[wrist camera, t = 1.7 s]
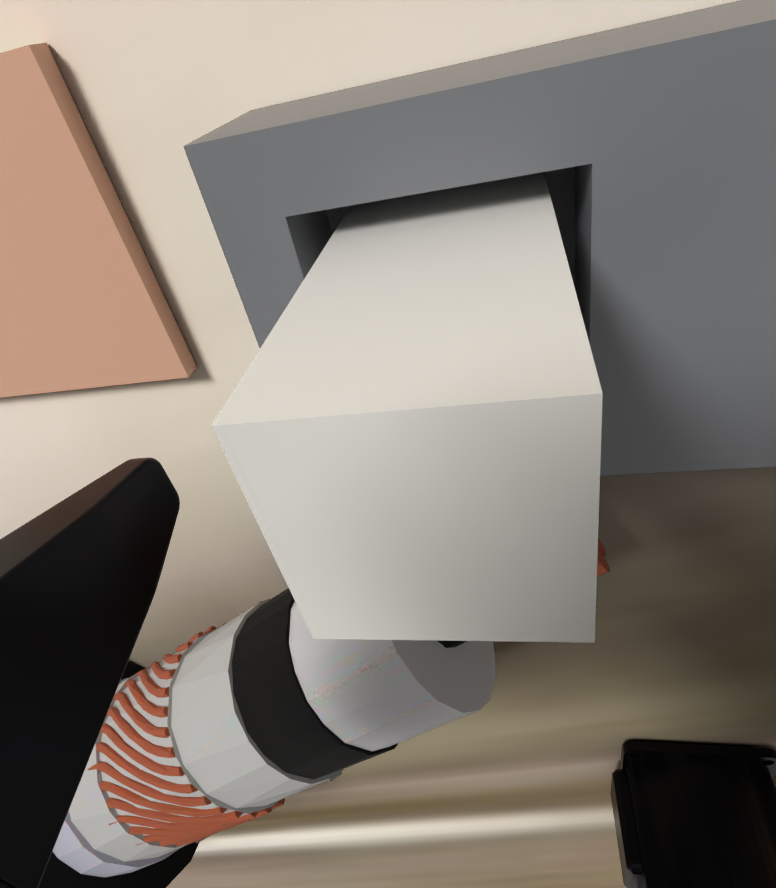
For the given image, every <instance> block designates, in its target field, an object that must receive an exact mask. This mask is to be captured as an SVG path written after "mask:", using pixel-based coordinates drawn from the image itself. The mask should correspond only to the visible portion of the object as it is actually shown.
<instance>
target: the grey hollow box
mask: <svg viewBox="0 0 776 888" xmlns="http://www.w3.org/2000/svg"><path fill="white" fill-rule="evenodd" d="M184 149H185V152H186V154H187V157H188V160H189V162H190V165H191V168H192V170H193V173H194V176H195V178H196V181H197V183H198V186H199V189H200V191H201V194H202V197H203V199H204V202H205V205H206V207H207V210H208V213H209V215H210V218H211V220H212V223H213V226H214V228H215V231H216V234H217V236H218V239H219V242H220V244H221V247H222V250H223V252H224V255H225V257H226V260H227V263H228V265H229V268H230V271H231V273H232V276H233V279H234V281H235V284H236V287H237V289H238V292H239V295H240V297H241V300H242V302H243V305H244V308H245V310H246V313H247V316H248V318H249V321H250V324H251V326H252V329H253V332H254V334H255V337H256V339H257V342H258V345H259V347H260V348H261V346H262V345H263V343H264V342H265V340H266V339H267V337H268V335H269V334H270V332H271V331H272V329H273V327H274V326H275V324H276V323H277V321H278V320H279V318H280V316H281V315H282V313H283V312H284V310H285V309H286V307H287V305H288V304H289V302H290V301H291V299H292V298H293V296H294V294H295V293H296V291H297V290H298V288H299V287H300V285H301V283H302V282H303V280H304V279H305V277H306V276H307V274H308V272H309V271H310V269H311V268H312V266H313V265H314V263H315V261H316V260H317V258H318V257H319V255H320V253H321V252H322V250H323V249H324V247H325V246H326V244H327V242H328V241H329V239H330V238H331V236H332V235H333V233H334V231H335V230H336V228H337V227H338V225H339V224H340V222H341V220H342V219H343V217H344V216H345V214H346V213H347V211H348V209H349V208H350V206H351V205H357V204H362V203H368V202H374V201H380V200H385V199H391V198H397V197H403V196H408V195H414V194H420V193H426V192H431V191H437V190H443V189H449V188H454V187H460V186H466V185H472V184H477V183H483V182H489V181H495V180H500V179H506V178H512V177H518V176H524V175H529V174H535V173H541V172H544V174H545V178H546V182H547V186H548V189H549V193H550V197H551V201H552V204H553V208H554V212H555V216H556V220H557V223H558V227H559V231H560V235H561V238H562V242H563V246H564V250H565V253H566V257H567V261H568V265H569V268H570V272H571V276H572V280H573V284H574V287H575V291H576V295H577V299H578V302H579V306H580V310H581V314H582V317H583V321H584V325H585V329H586V333H587V336H588V340H589V344H590V348H591V351H592V355H593V359H594V363H595V366H596V370H597V374H598V378H599V382H600V385H601V389H602V393H603V397H602V429H601V460H600V476H606V475H625V474H645V473H664V472H683V471H703V470H722V469H741V468H761V467H776V0H741V1H736V2H732V3H727V4H723V5H718V6H714V7H710V8H705V9H701V10H696V11H692V12H687V13H683V14H678V15H674V16H669V17H665V18H660V19H656V20H652V21H647V22H643V23H638V24H634V25H629V26H625V27H620V28H616V29H611V30H607V31H603V32H598V33H594V34H589V35H585V36H580V37H576V38H571V39H567V40H562V41H558V42H553V43H549V44H545V45H540V46H536V47H531V48H527V49H522V50H518V51H513V52H509V53H504V54H500V55H496V56H491V57H487V58H482V59H478V60H473V61H469V62H464V63H460V64H455V65H451V66H447V67H442V68H438V69H433V70H429V71H424V72H420V73H415V74H411V75H406V76H402V77H397V78H393V79H389V80H384V81H380V82H375V83H371V84H366V85H362V86H357V87H353V88H348V89H344V90H340V91H335V92H331V93H326V94H322V95H317V96H313V97H308V98H304V99H299V100H295V101H290V102H286V103H282V104H277V105H273V106H268V107H264V108H259V109H255V110H251V111H249V112H247V113H245V114H243V115H241V116H239V117H238V118H236V119H234V120H232V121H230V122H228V123H226V124H224V125H223V126H221V127H219V128H217V129H215V130H213V131H211V132H209V133H207V134H206V135H204V136H202V137H200V138H198V139H196V140H194V141H192V142H191V143H189V144H187V145H185V146H184Z"/></svg>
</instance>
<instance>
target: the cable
mask: <svg viewBox="0 0 776 888" xmlns="http://www.w3.org/2000/svg"><path fill="white" fill-rule="evenodd" d="M605 553H606V550H605V548H604V546H603V544H602V543H601V541H600V540H599V539H598V555H597V576H600V575H602V574H604V573H606V572H609V567H608V563H607V561H606V560H605V558H604V556H605ZM495 679H496V668H495V655H494V645H493V641H440V640H365V639H313V637H312V635H311V633H310V631H309V629H308V627H307V625H306V623H305V621H304V619H303V617H302V614H301V612H300V610H299V608H298V606H297V604H296V602H295V600H294V598H293V596H292V594H291V592H290V589H289V588H288V589H286V590H285V591H283V592H282V593H280V594H279V595H277V596H275V597H274V598H272V599H268V600H265V601H261V602H259V603H258V604H256V605H255V606H253V607H251V608H250V609H248V610H247V611H245V612H243V613H242V614H240V615H239V616H237V617H236V618H234V619H232V620H231V621H229V622H228V623H224V624H223V625H222V626H221V627H219V628H217V629H216V627H214V626H211V627H210V628H209V629H208V630H207V631H206V632H205V633H203V632H200V633H198V634H197V635H195V636H194V637H192V638H191V639H190V641H189V642H188V643H185V644H183V645H180V646H178V647H177V649H176V652H175V653H174V654H172V655H171V654H166V655H165V656H164V660H163V661H161V662H160V663H159V662H153V664H152V665H151V666H150V667H148V668H144V667H142V666H132V665H126V668H125V670H124V673H123V675H122V678H121V680H120V683H119V685H118V688H117V690H116V693H115V695H114V698H113V700H112V703H111V705H110V708H109V710H108V713H107V715H106V718H105V720H104V723H103V725H102V728H101V730H100V733H99V735H98V738H97V741H96V743H95V746H94V748H93V751H92V753H91V756H90V758H89V761H88V763H87V766H86V768H85V771H84V773H83V776H82V778H81V781H80V783H79V786H78V788H77V791H76V793H75V796H74V798H73V801H72V803H71V806H70V808H69V811H68V813H67V816H66V818H65V821H64V823H63V826H62V829H61V831H60V834H59V836H58V839H57V841H56V844H55V846H54V849H53V851H52V854H51V856H50V859H49V861H48V864H47V866H46V869H45V871H44V874H43V876H42V879H41V881H40V884H39V886H38V888H166V887H167V886H168V885H169V884H170V883H171V881H172V880H173V879H174V878H175V877H176V876H177V875H178V874H179V873H180V872H181V871H182V870H183V869H184V868H185V867H186V865H187V864H188V863H189V862H190V861H191V859H192V857H193V855H194V853H195V851H196V848H197V846H198V844H199V842H200V841H202V840H204V839H205V838H207V837H209V836H210V835H212V834H215V833H217V832H219V831H222V830H225V829H228V828H231V827H233V826H236V825H239V824H242V823H244V822H247V821H250V820H252V819H255V818H257V817H260V816H263V815H265V814H268V813H270V812H271V811H272V809H275V808H277V807H279V806H281V805H283V804H284V800H285V798H286V797H288V796H291V795H293V794H295V793H298V792H300V791H303V790H305V789H307V788H310V787H312V786H315V785H317V784H319V783H322V782H324V781H327V780H329V779H330V781H332V780H333V779H335V778H337V777H338V776H340V775H341V774H342V770H343V769H344V768H346V767H349V766H351V765H354V764H356V763H359V762H362V761H364V760H367V759H369V758H372V757H374V756H377V755H379V754H382V753H385V752H387V751H390V750H392V749H394V748H395V747H396V746H397V744H398V743H400V742H402V741H405V740H407V739H409V738H412V737H414V736H417V735H419V734H422V733H424V732H427V731H429V730H432V729H434V728H437V727H439V726H441V725H444V724H446V723H449V722H451V721H454V720H456V719H459V718H461V717H464V716H466V715H469V714H471V713H473V712H476V711H478V710H480V709H481V708H482V707H483V706H484V705H485V704H486V703H487V702H488V701H489V700H490V698H491V694H492V690H493V686H494V682H495Z"/></svg>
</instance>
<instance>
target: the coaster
mask: <svg viewBox="0 0 776 888" xmlns="http://www.w3.org/2000/svg"><path fill="white" fill-rule="evenodd" d="M196 367H197V366H196V364H195V362H194V360H193V357H192V355H191V353H190V351H189V349H188V347H187V345H186V342H185V340H184V338H183V336H182V334H181V332H180V329H179V327H178V325H177V323H176V321H175V319H174V316H173V314H172V312H171V310H170V308H169V306H168V304H167V301H166V299H165V297H164V295H163V293H162V291H161V288H160V286H159V284H158V282H157V280H156V278H155V275H154V273H153V271H152V269H151V267H150V265H149V263H148V260H147V258H146V256H145V254H144V252H143V250H142V247H141V245H140V243H139V241H138V239H137V237H136V234H135V232H134V230H133V228H132V226H131V224H130V222H129V219H128V217H127V215H126V213H125V211H124V209H123V206H122V204H121V202H120V200H119V198H118V196H117V193H116V191H115V189H114V187H113V185H112V183H111V181H110V178H109V176H108V174H107V172H106V170H105V168H104V165H103V163H102V161H101V159H100V157H99V155H98V152H97V150H96V148H95V146H94V144H93V142H92V140H91V137H90V135H89V133H88V131H87V129H86V127H85V124H84V122H83V120H82V118H81V116H80V114H79V111H78V109H77V107H76V105H75V103H74V101H73V99H72V96H71V94H70V92H69V90H68V88H67V86H66V83H65V81H64V79H63V77H62V75H61V73H60V70H59V68H58V66H57V64H56V62H55V60H54V58H53V55H52V53H51V51H50V49H49V47H48V45H47V43H41V44H34V45H28V46H24V47H21V48H17V49H14V50H10V51H7V52H3V53H0V398H1V397H10V396H20V395H29V394H38V393H48V392H57V391H66V390H76V389H85V388H94V387H104V386H113V385H122V384H132V383H141V382H150V381H160V380H169V379H178V378H188V377H189V376H190V375H191V373H192V372H193V371H194V370H195V368H196Z"/></svg>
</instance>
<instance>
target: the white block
mask: <svg viewBox="0 0 776 888" xmlns="http://www.w3.org/2000/svg"><path fill="white" fill-rule="evenodd" d="M602 397H603V393H602V389H601V385H600V382H599V378H598V374H597V370H596V366H595V363H594V359H593V355H592V351H591V348H590V344H589V340H588V336H587V333H586V329H585V325H584V321H583V317H582V314H581V310H580V306H579V302H578V299H577V295H576V291H575V287H574V284H573V280H572V276H571V272H570V268H569V265H568V261H567V257H566V253H565V250H564V246H563V242H562V238H561V235H560V231H559V227H558V223H557V220H556V216H555V212H554V208H553V204H552V201H551V197H550V193H549V189H548V186H547V182H546V178H545V174H544V172H541V173H535V174H529V175H524V176H518V177H512V178H506V179H500V180H495V181H489V182H483V183H477V184H472V185H466V186H460V187H454V188H449V189H443V190H437V191H431V192H426V193H420V194H414V195H408V196H403V197H397V198H391V199H385V200H380V201H374V202H368V203H362V204H357V205H351V206H350V208H349V209H348V211H347V213H346V214H345V216H344V217H343V219H342V220H341V222H340V224H339V225H338V227H337V228H336V230H335V231H334V233H333V235H332V236H331V238H330V239H329V241H328V242H327V244H326V246H325V247H324V249H323V250H322V252H321V253H320V255H319V257H318V258H317V260H316V261H315V263H314V265H313V266H312V268H311V269H310V271H309V272H308V274H307V276H306V277H305V279H304V280H303V282H302V283H301V285H300V287H299V288H298V290H297V291H296V293H295V294H294V296H293V298H292V299H291V301H290V302H289V304H288V305H287V307H286V309H285V310H284V312H283V313H282V315H281V316H280V318H279V320H278V321H277V323H276V324H275V326H274V327H273V329H272V331H271V332H270V334H269V335H268V337H267V339H266V340H265V342H264V343H263V345H262V346H261V348H260V350H259V351H258V353H257V354H256V356H255V357H254V359H253V361H252V362H251V364H250V365H249V367H248V368H247V370H246V372H245V373H244V375H243V376H242V378H241V379H240V381H239V383H238V384H237V386H236V387H235V389H234V390H233V392H232V394H231V395H230V397H229V398H228V400H227V402H226V403H225V405H224V406H223V408H222V409H221V411H220V413H219V414H218V416H217V417H216V419H215V420H214V422H213V424H212V425H211V427H212V429H213V431H214V434H215V436H216V438H217V440H218V442H219V444H220V446H221V448H222V450H223V452H224V454H225V456H226V459H227V461H228V463H229V465H230V467H231V469H232V471H233V473H234V475H235V477H236V479H237V481H238V483H239V486H240V488H241V490H242V492H243V494H244V496H245V498H246V500H247V502H248V504H249V506H250V508H251V510H252V513H253V515H254V517H255V519H256V521H257V523H258V525H259V527H260V529H261V531H262V533H263V535H264V538H265V540H266V542H267V544H268V546H269V548H270V550H271V552H272V554H273V556H274V558H275V560H276V562H277V565H278V567H279V569H280V571H281V573H282V575H283V577H284V579H285V581H286V583H287V585H288V587H289V589H290V592H291V594H292V596H293V598H294V600H295V602H296V604H297V606H298V608H299V610H300V612H301V614H302V617H303V619H304V621H305V623H306V625H307V627H308V629H309V631H310V633H311V635H312V637H313V639H365V640H440V641H515V642H591V643H595V619H596V587H597V555H598V524H599V492H600V460H601V429H602Z"/></svg>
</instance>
